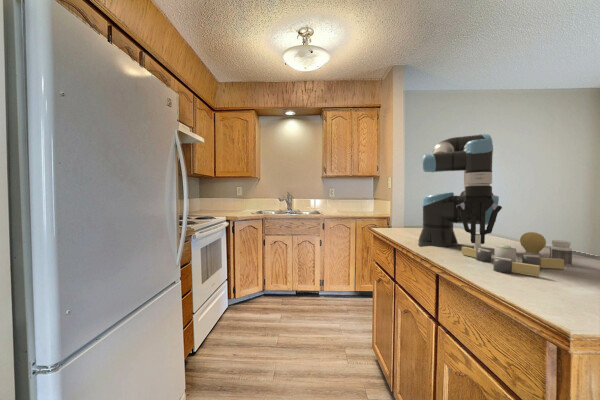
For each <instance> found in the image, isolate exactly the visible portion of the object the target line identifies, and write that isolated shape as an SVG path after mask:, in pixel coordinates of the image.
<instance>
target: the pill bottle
mask: <svg viewBox="0 0 600 400" xmlns="http://www.w3.org/2000/svg"><path fill="white" fill-rule="evenodd" d="M571 245H572V244H571V241H569V240H561V239H552V240H551V246H550V247H549V258H558V259H563V260H564V267H566V266H568V267H569V266H570V267H571V266H573V249H572V248H571Z"/></svg>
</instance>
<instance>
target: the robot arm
mask: <svg viewBox="0 0 600 400" xmlns="http://www.w3.org/2000/svg"><path fill="white" fill-rule="evenodd" d="M493 154H494V145H493V138H492V137H491V135H490V134H486V133H484V134H482V133H480V134H477V135H476V134H475V135H465V136H454V137H449V138H447V139H444V140H442V141H440V142H438V143H436V144H435V145H434V147H433V149H432V153H431V152H430V153H426V154H424V155H423V156H422V169H423V171H424V172H425V173H437V172H438V173H440V172H458V171H459V172H463V191H461V192H460V194H459V195H455V193H454V192H452V191H451V192H445V193H436V194H434V193H433V194H427V195H425V196H424V197H423V201H422V229H421V233H420V234H419V238H418V241H417V242H418V244H417V245H418V246H419V247H422V248H424V247H437V248H454V247H458V246H459V242H458V240H457V236H456V234H455V231H454V224H462V225H463V228H464V231H465V232H466V233H469V234H470V242H471V244H474V245H473V246H474V247H473V249H478V248H481V249H482V247H481V246H482V245H484V244H486V243H485V240H486V239H485V238H486V235H488V234H492V232H493V229H494V226H495V223H497V216H498V214H499V212H500V211H501V210H502V209H503V207H502V206H501V205H499V202H500V201H499V199H500V197H499V196H498V195H495V194H494V193H493V186H492V184H493ZM469 225H470V227H469ZM477 225H479V233H477ZM486 226H487V227H486Z"/></svg>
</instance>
